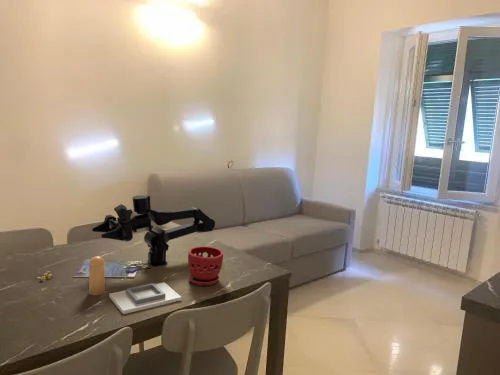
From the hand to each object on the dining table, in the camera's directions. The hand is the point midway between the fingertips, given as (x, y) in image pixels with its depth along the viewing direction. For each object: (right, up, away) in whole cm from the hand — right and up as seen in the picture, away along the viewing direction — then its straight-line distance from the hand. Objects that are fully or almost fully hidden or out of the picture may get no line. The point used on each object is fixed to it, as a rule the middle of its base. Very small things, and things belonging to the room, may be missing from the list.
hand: (96, 233), depth 153 cm
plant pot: (+40, -19, +3) cm, 44 cm away
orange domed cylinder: (+4, -19, -11) cm, 23 cm away
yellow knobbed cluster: (-18, -17, -2) cm, 25 cm away
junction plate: (+22, -21, -14) cm, 33 cm away
